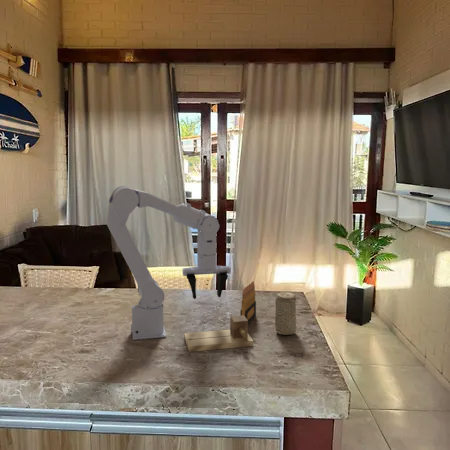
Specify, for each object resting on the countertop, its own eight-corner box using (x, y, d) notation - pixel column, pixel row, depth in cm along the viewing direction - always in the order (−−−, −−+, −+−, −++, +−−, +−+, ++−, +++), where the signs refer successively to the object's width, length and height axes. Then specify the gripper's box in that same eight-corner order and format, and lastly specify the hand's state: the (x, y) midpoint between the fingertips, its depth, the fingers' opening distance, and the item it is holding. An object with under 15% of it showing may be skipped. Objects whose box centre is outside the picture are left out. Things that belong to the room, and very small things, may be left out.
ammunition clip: (245, 327, 131) (246, 289, 129) (239, 326, 131) (240, 288, 130) (255, 315, 141) (256, 280, 139) (250, 314, 141) (251, 279, 140)
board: (188, 351, 113) (188, 346, 113) (184, 338, 122) (184, 333, 122) (253, 345, 117) (253, 340, 117) (244, 333, 126) (244, 328, 126)
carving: (291, 327, 130) (292, 290, 129) (299, 337, 123) (301, 298, 121) (271, 328, 129) (272, 291, 128) (278, 338, 122) (279, 298, 120)
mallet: (238, 346, 114) (238, 329, 113) (230, 332, 122) (230, 316, 121) (252, 345, 114) (253, 327, 114) (243, 331, 123) (243, 315, 122)
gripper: (184, 257, 122) (185, 302, 124) (233, 255, 125) (232, 299, 127) (181, 252, 129) (181, 295, 131) (227, 250, 132) (227, 292, 134)
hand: (206, 297), depth 130 cm, fingers open, 7 cm apart
